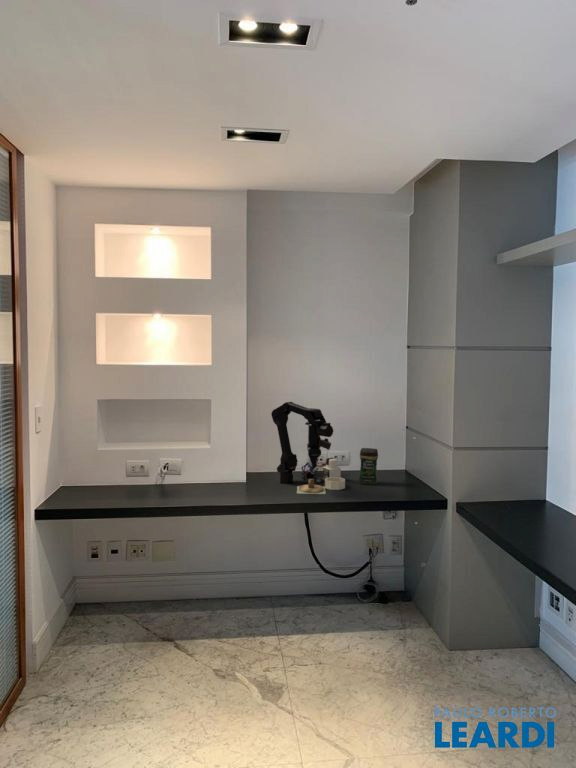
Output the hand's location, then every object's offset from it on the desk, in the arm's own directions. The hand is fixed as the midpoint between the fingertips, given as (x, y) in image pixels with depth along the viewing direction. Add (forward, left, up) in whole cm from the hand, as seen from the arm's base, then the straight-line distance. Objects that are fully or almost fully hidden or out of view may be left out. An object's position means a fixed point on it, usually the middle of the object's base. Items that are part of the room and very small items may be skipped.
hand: (313, 465), depth 287 cm
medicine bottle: (+10, +21, -13) cm, 26 cm away
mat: (-1, -1, -13) cm, 13 cm away
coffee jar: (+29, +16, -13) cm, 35 cm away
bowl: (+11, +5, -13) cm, 17 cm away
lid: (-1, -1, -12) cm, 12 cm away
